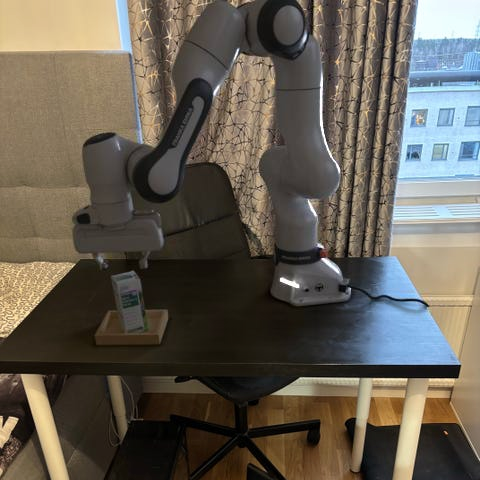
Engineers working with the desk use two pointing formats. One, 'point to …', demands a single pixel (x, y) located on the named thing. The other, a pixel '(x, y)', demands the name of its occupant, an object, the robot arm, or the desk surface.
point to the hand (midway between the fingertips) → (124, 268)
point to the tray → (115, 335)
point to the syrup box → (129, 302)
